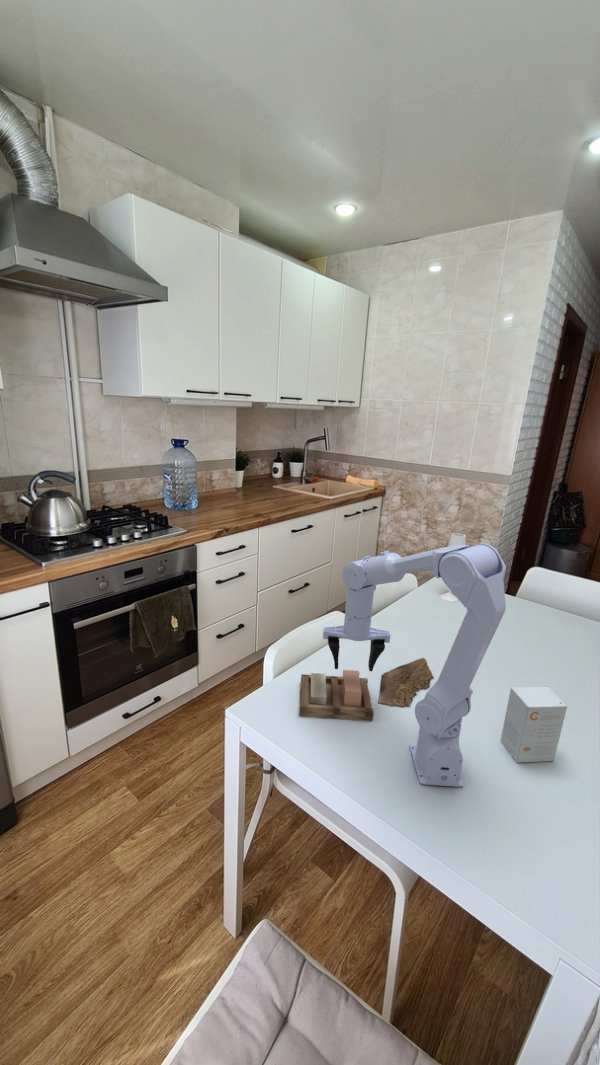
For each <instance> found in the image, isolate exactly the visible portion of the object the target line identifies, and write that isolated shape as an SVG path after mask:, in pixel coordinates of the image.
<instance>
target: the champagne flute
mask: <svg viewBox="0 0 600 1065" xmlns="http://www.w3.org/2000/svg"><path fill="white" fill-rule="evenodd" d="M466 540H467V535H466V534H464V533H462V532H461V533H460V532H452V533H451V535H450V539H449V543H448V547H451V546H460V545H467V543H466V542H467V541H466ZM439 598H440V599H442V600H443V601H445V602H451V603H452V602H458V601H459V600H458V598H457V597H456V596H455V595H454V594H453V592H452V591H451V590H450V589H449V588H448V590H447V592H445V593H441V594H440V595H439Z"/></svg>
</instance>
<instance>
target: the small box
mask: <svg viewBox="0 0 600 1065" xmlns="http://www.w3.org/2000/svg"><path fill="white" fill-rule="evenodd" d="M567 709H568V705H567V704H566V703H565V702H564V701H563V700H562V699H561V698H560V697H559V696H558V695H556V693H555V692H553V690H552V689H550V688H549V687H548V686H522V687H520V686H519V687H518V686H516V687H513V686H512V687H511V688H510V692H509V696H508V701H507V707H506V711H505V715H504V720H503V726H502V731H501V736H500V742H501V744H502V745H503V746H504V748H506V750H507V751H508V753H509V754H510V756H511V757H512V758H513V760H514V762H516V763H534V762H535V763H537V762H538V763H539V762H554V761H555V757H556V753H557V750H558V745H559V741H560V737H561V732H562V729H563V726H564V720H565V717H566V713H567Z"/></svg>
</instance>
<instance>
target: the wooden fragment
mask: <svg viewBox="0 0 600 1065" xmlns="http://www.w3.org/2000/svg"><path fill="white" fill-rule="evenodd" d="M434 677H435V676H434V675H433V673H432V670H431V669H430V667H429V665H428V661H427V660H426V658H424V657H421V658H419V659H415V660H413V661H411V662H408V663H406V664H402V665H400V666H397V667H395V668H392V669H390V670H388V671H386V672H384V673H383V674H381V677H380V678H381V679H380V688H379V695H378V696H379V697H378V703H377V704H378V705H383V706H387V707H390V708H391V707H392V708H395V707H396V708H397V707H398V708H411V704H412V702H413V698H415V697H416V696H417V695H418V693H417V692H419V691H420V690H422V691H423V690H425V689H429V688H430V686H431V681H432V679H434Z"/></svg>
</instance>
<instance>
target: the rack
mask: <svg viewBox="0 0 600 1065" xmlns="http://www.w3.org/2000/svg"><path fill="white" fill-rule="evenodd" d="M359 678H360V684H361V690H362V695H361V705H360V707H345V706H343V700H342V689H341V687H342V676H336V675H334V676H333V675H326V673H313V672H311V673H310V674H301V676H300V692H299V693H300V695H299V697H300V698H299V717H304V718H306V717H307V718H318V719H319V718H320V719H336V720H348V721H349V720H352V721H353V720H354V721H364V722H365V721H367V722H368V721H369V722H373V721H374V713H375V712H374V711H375V710H374V708H373V706H372V702H371V695H370V691H369V685H368V682H369V681H368V680H369V679H368V677H367V678H365V677H359Z"/></svg>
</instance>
